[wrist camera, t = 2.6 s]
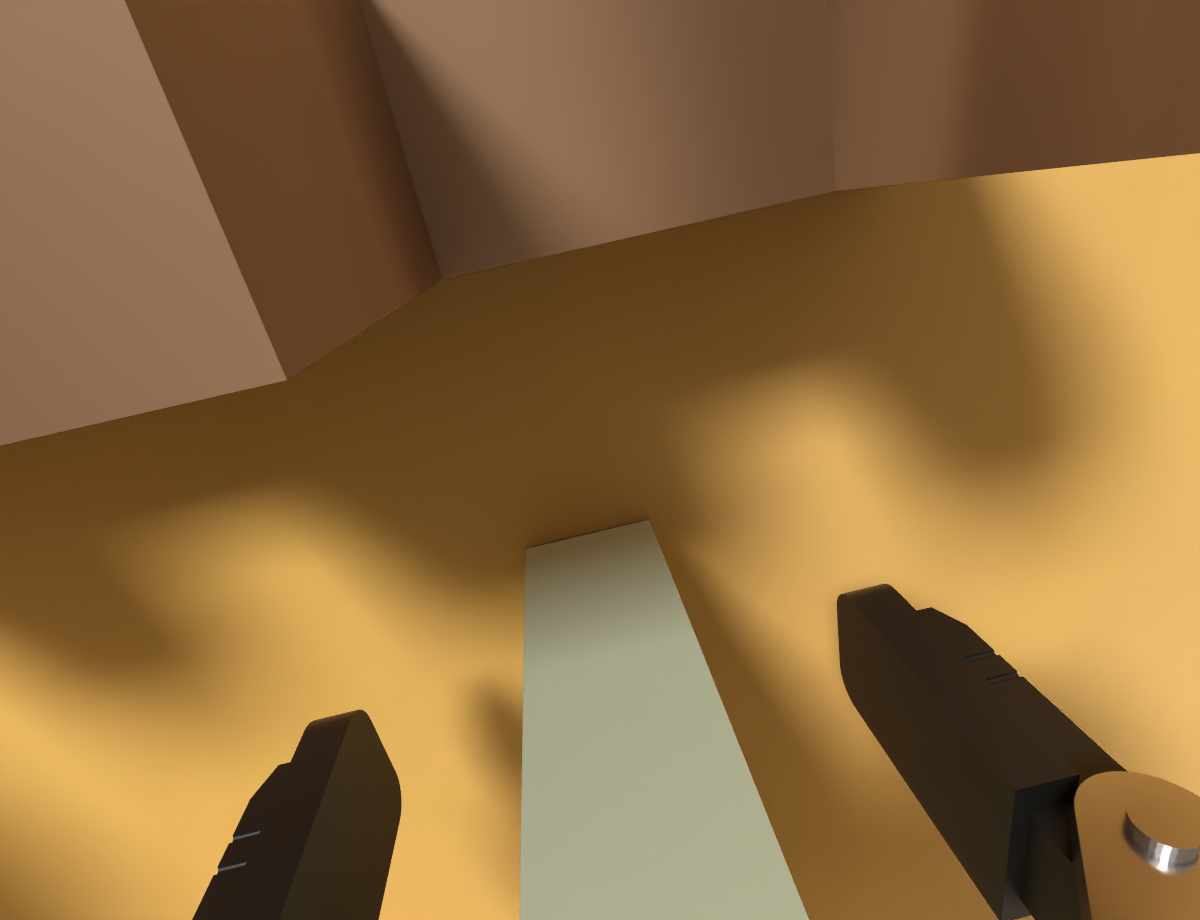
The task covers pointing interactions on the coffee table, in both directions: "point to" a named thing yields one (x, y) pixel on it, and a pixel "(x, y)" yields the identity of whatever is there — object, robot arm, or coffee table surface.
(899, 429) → the coffee table surface
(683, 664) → the cross piece
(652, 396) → the coffee table surface
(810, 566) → the coffee table surface
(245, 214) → the rail
